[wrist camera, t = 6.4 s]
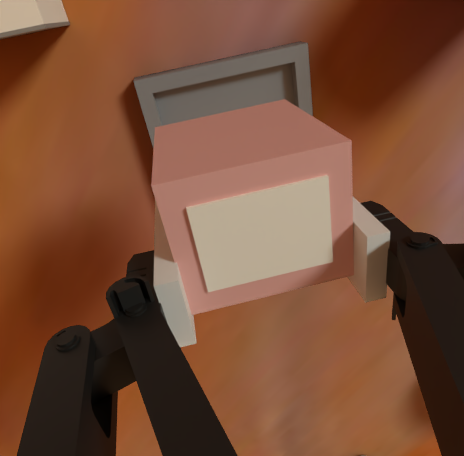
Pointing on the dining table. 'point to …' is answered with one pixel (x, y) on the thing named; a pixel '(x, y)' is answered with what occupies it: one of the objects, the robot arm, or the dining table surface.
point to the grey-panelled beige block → (30, 16)
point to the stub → (254, 203)
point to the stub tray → (226, 85)
